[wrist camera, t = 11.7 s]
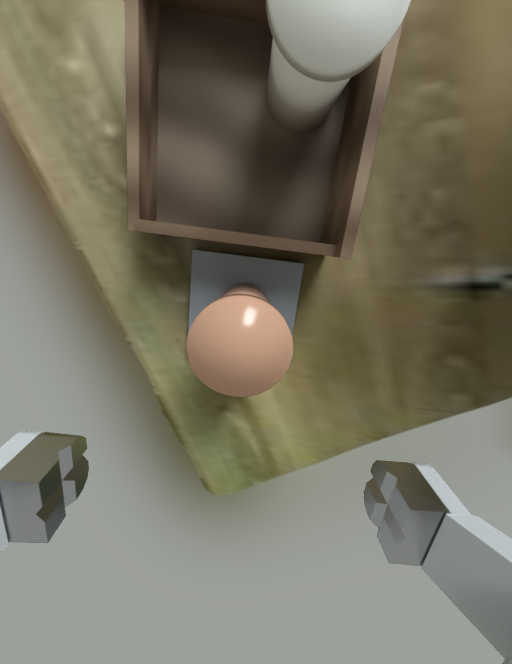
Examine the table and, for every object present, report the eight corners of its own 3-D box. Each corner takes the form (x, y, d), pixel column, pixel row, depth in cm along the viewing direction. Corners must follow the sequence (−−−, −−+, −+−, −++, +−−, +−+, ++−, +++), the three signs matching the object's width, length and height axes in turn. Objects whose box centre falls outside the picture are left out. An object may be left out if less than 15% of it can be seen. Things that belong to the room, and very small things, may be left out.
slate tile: (194, 249, 25) (192, 249, 24) (302, 263, 26) (304, 263, 25) (188, 351, 28) (186, 354, 28) (285, 361, 29) (286, 364, 28)
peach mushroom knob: (212, 272, 25) (189, 290, 16) (282, 281, 26) (301, 304, 16) (207, 339, 27) (184, 391, 18) (272, 346, 27) (284, 401, 18)
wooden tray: (150, -5, 20) (106, -119, 14) (368, 34, 21) (419, -55, 15) (149, 232, 25) (115, 228, 18) (325, 254, 26) (351, 258, 19)
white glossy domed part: (264, 32, 20) (279, -153, 11) (349, 48, 21) (437, -118, 11) (253, 135, 22) (258, 55, 13) (332, 147, 23) (394, 78, 13)
